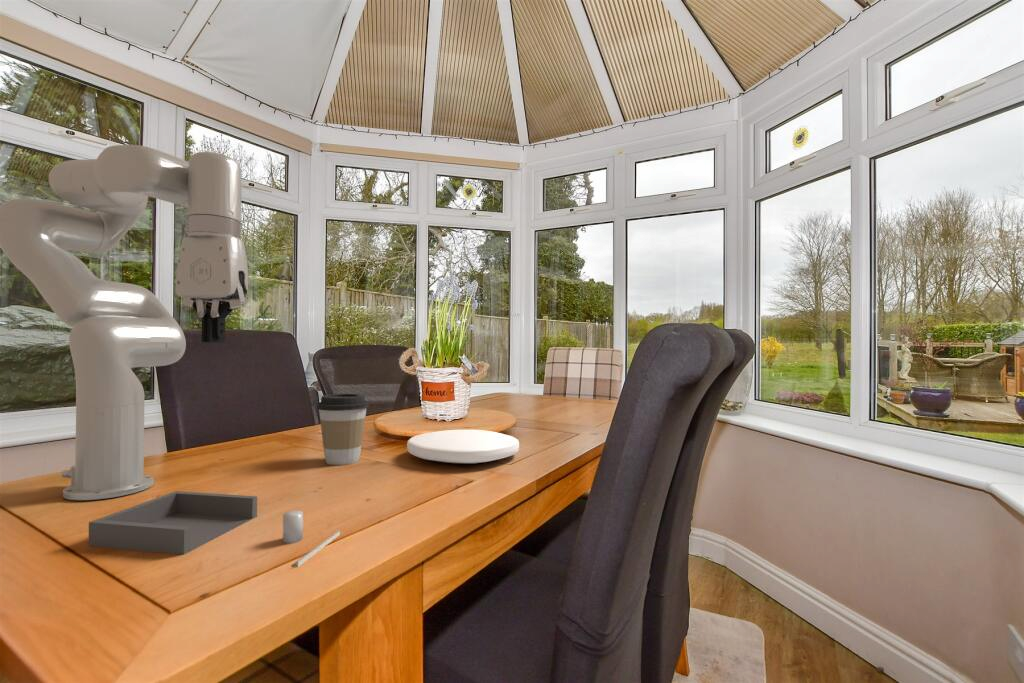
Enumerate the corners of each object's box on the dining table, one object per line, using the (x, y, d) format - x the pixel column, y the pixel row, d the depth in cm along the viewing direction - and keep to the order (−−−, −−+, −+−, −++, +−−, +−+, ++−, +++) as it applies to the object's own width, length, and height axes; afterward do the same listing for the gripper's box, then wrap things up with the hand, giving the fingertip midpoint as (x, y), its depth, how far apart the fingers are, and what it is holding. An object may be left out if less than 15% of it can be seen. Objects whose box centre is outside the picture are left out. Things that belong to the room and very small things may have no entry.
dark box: (88, 553, 61) (88, 522, 61) (176, 516, 74) (176, 491, 74) (183, 562, 59) (184, 529, 59) (256, 523, 72) (257, 496, 72)
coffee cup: (373, 455, 116) (374, 393, 116) (360, 467, 105) (361, 398, 105) (325, 455, 115) (326, 393, 115) (307, 467, 104) (308, 398, 104)
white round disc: (433, 425, 132) (528, 430, 127) (431, 449, 132) (527, 455, 126) (387, 432, 105) (506, 439, 100) (385, 463, 104) (504, 471, 99)
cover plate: (209, 563, 60) (210, 523, 60) (263, 532, 70) (263, 498, 70) (298, 571, 58) (298, 530, 58) (339, 538, 68) (340, 503, 68)
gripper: (155, 227, 77) (153, 341, 77) (239, 224, 75) (237, 342, 75) (193, 237, 84) (191, 342, 84) (270, 235, 82) (269, 342, 82)
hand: (213, 342), depth 79 cm, fingers closed
